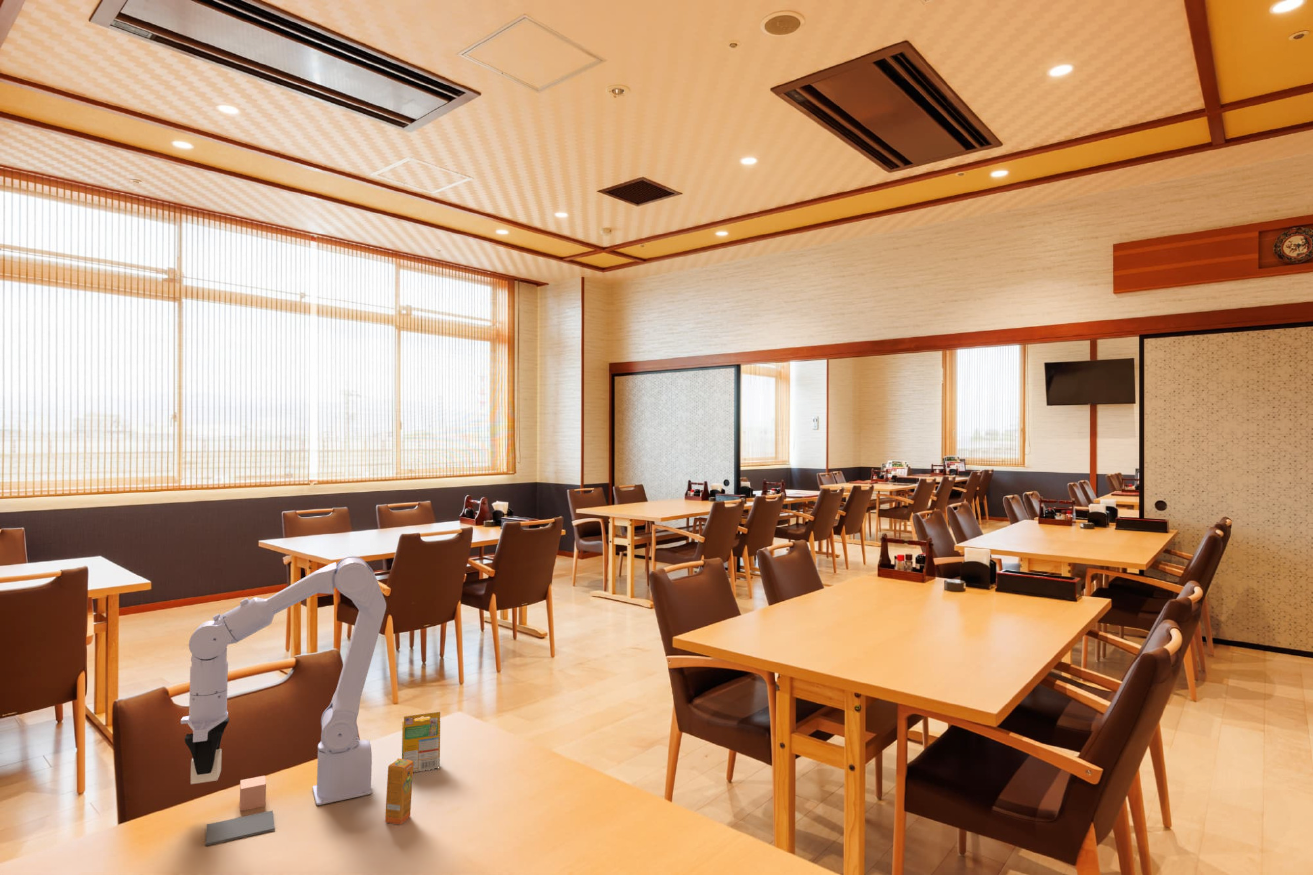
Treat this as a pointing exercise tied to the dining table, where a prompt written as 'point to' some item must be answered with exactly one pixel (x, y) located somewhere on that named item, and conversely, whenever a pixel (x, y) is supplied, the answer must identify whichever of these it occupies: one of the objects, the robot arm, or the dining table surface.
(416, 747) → the crayon box
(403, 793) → the supplement box
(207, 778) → the cream block
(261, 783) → the terracotta block
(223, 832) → the build mat
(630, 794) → the dining table surface
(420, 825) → the dining table surface
